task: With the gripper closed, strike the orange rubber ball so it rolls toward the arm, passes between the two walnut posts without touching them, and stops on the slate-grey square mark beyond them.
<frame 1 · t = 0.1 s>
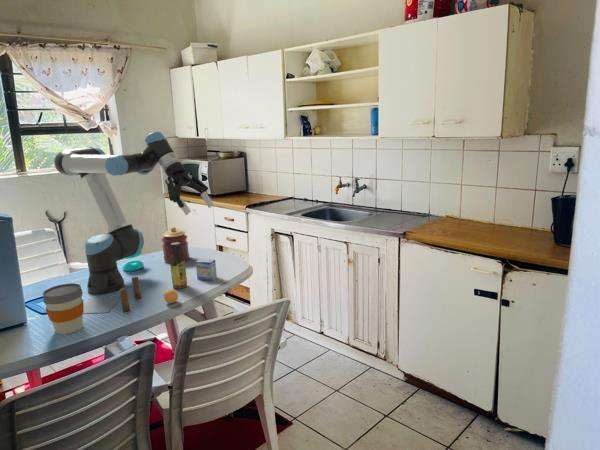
hand: (200, 209, 179), 36 cm above the table, tool tilted 35°, fingers open, 13 cm apart
post 2: (137, 298, 186), on the table
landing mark: (97, 305, 180), on the table
ball: (171, 296, 179), on the table
medicine box: (207, 278, 205), on the table
sauce bottle: (180, 287, 196), on the table
post 1: (126, 311, 174), on the table
reusable coffee cup: (69, 328, 162), on the table
canister: (177, 260, 234), on the table
donuts: (133, 268, 224), on the table
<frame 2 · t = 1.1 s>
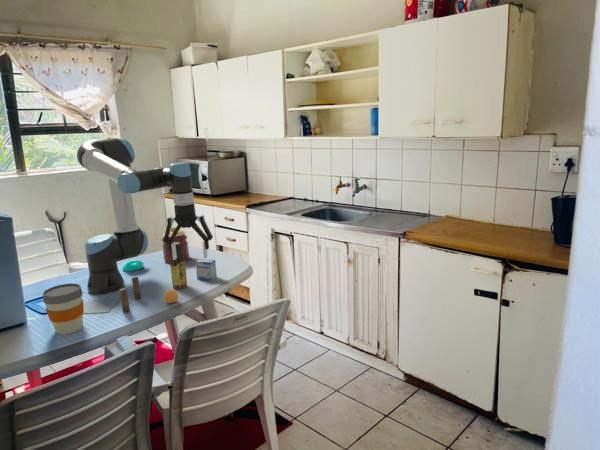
hand: (190, 258, 175), 18 cm above the table, tool pointing down, fingers open, 11 cm apart
nothing on the table moved.
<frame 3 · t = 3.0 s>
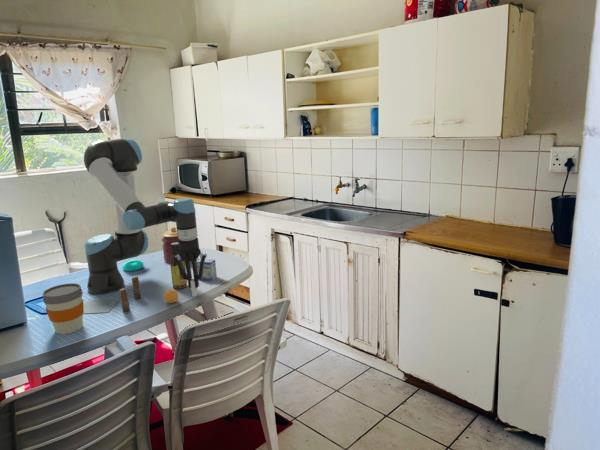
hand: (194, 295, 179), 3 cm above the table, tool pointing down, fingers closed
nothing on the table moved.
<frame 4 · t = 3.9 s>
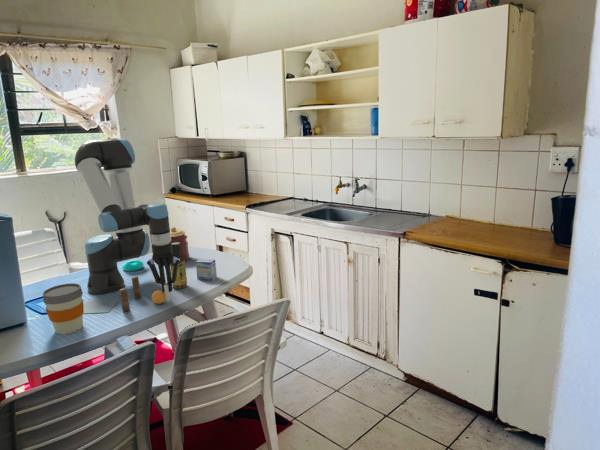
hand: (168, 298, 180), 1 cm above the table, tool pointing down, fingers closed
ball: (158, 296, 179), on the table
everything else where it was.
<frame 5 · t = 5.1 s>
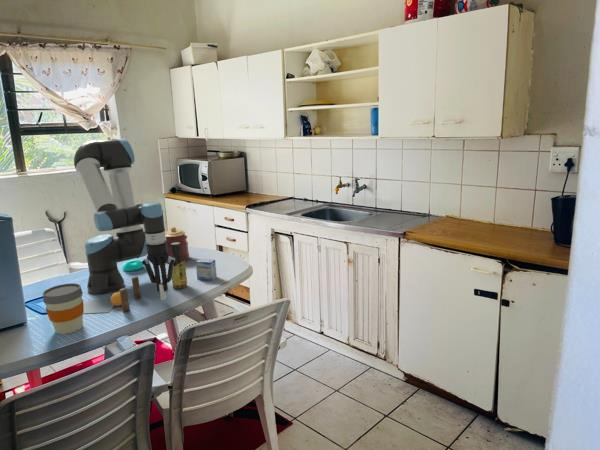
hand: (163, 298, 179), 2 cm above the table, tool pointing down, fingers closed
ball: (117, 299, 179), on the table
everything else where it was.
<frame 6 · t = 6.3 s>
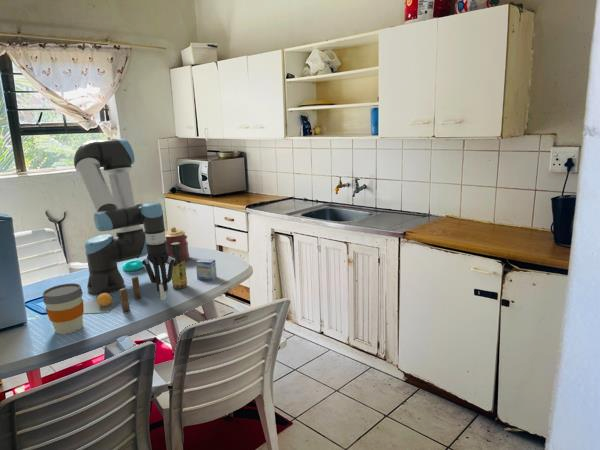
hand: (163, 298, 179), 2 cm above the table, tool pointing down, fingers closed
ball: (104, 299, 179), on the table
everything else where it was.
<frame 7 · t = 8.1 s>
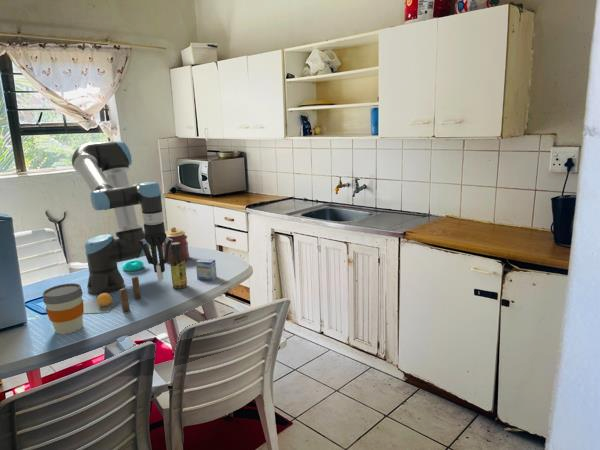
hand: (160, 279, 178), 10 cm above the table, tool pointing down, fingers closed
nothing on the table moved.
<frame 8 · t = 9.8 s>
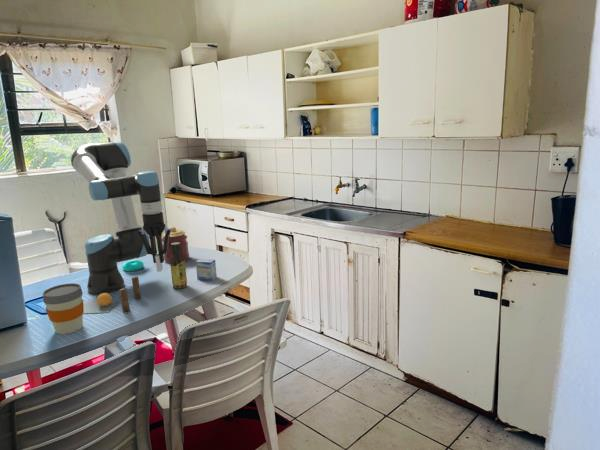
hand: (160, 270, 176), 14 cm above the table, tool pointing down, fingers closed
nothing on the table moved.
at the end: ball 3.3 cm from the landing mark (horizontally); ball never touched post 2; ball never touched post 1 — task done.
